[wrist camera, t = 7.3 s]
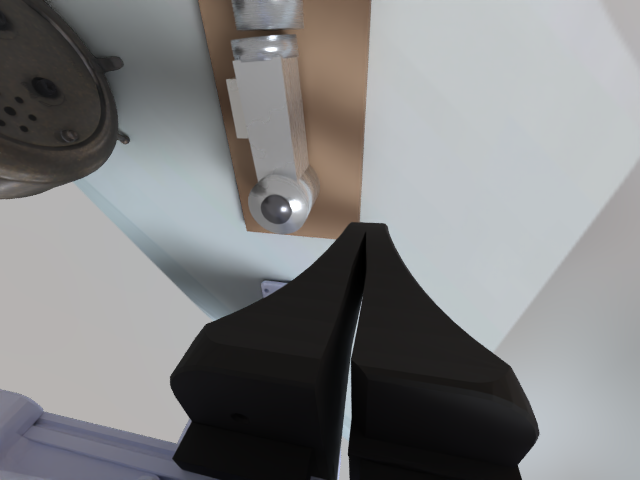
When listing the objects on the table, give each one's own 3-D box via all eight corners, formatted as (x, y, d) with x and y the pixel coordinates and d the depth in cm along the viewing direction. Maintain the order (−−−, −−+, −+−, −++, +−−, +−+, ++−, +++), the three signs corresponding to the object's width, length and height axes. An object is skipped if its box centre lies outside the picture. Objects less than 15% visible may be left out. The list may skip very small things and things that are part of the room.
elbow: (322, 207, 20) (308, 238, 17) (274, 206, 21) (253, 235, 18) (307, 34, 15) (283, 32, 12) (243, 41, 16) (204, 41, 12)
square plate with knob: (338, 130, 17) (321, 157, 13) (246, 128, 18) (205, 153, 14) (338, -89, 12) (312, -153, 8) (212, -73, 13) (133, -122, 9)
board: (358, 234, 22) (357, 241, 21) (251, 224, 24) (246, 231, 23) (375, -85, 13) (374, -94, 12) (195, -62, 14) (182, -69, 14)
